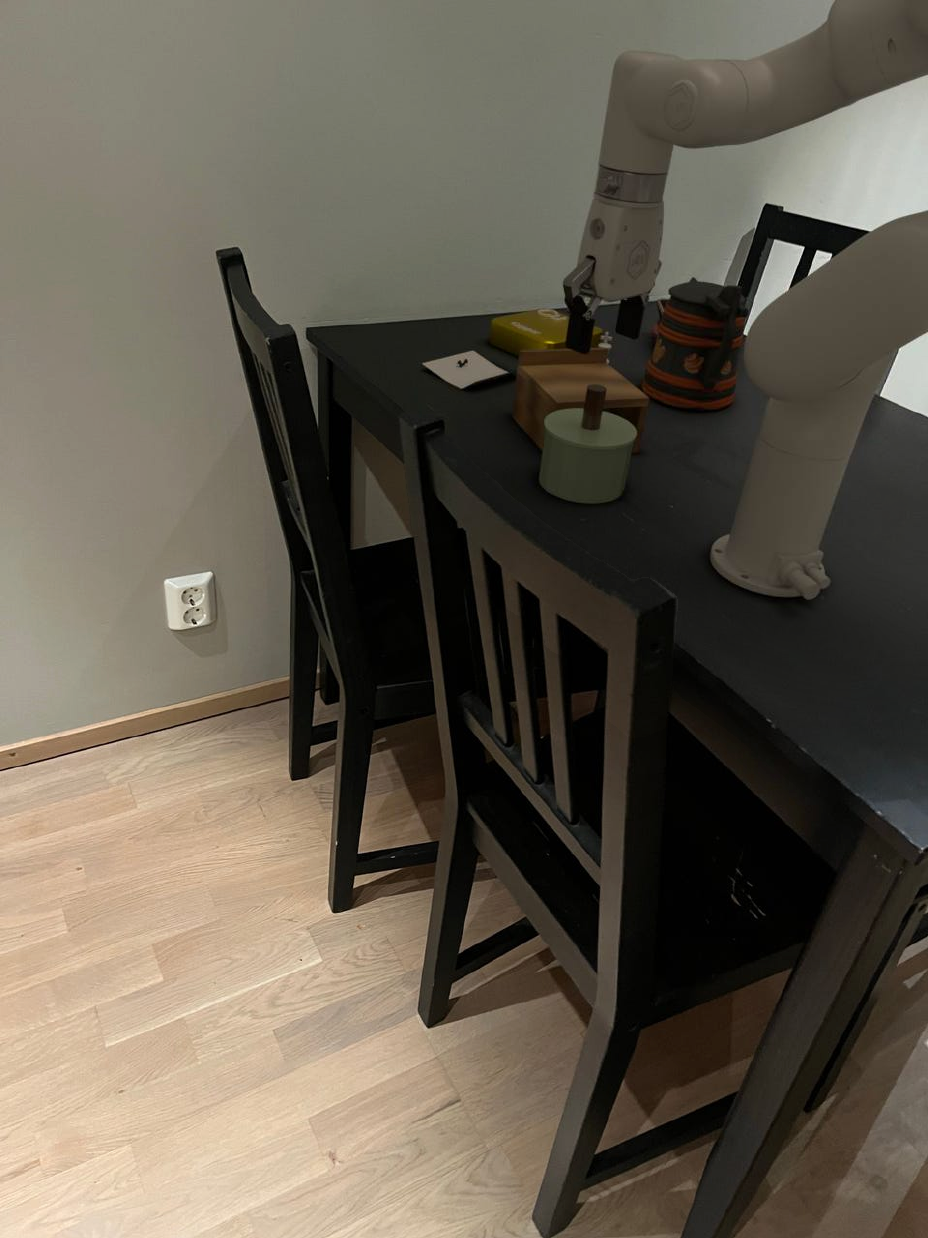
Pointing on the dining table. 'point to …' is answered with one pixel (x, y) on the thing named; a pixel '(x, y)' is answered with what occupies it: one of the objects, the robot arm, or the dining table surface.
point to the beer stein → (697, 347)
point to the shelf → (571, 389)
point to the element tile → (534, 331)
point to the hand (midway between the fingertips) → (602, 342)
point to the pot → (583, 471)
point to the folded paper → (466, 369)
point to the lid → (591, 424)
